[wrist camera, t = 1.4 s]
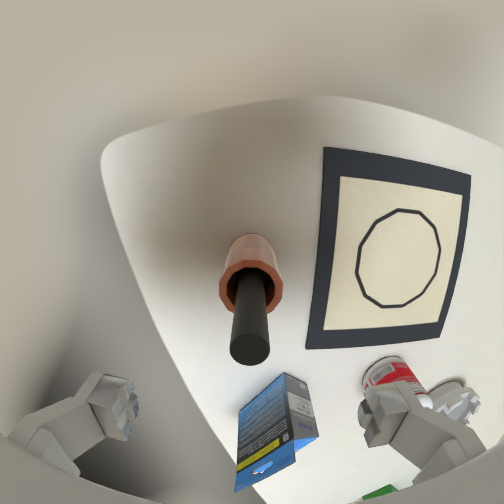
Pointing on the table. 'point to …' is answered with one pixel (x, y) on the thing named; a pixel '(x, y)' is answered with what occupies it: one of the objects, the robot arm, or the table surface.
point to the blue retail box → (273, 430)
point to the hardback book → (380, 492)
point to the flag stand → (455, 401)
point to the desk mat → (385, 249)
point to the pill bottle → (396, 377)
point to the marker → (250, 320)
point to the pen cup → (256, 256)
